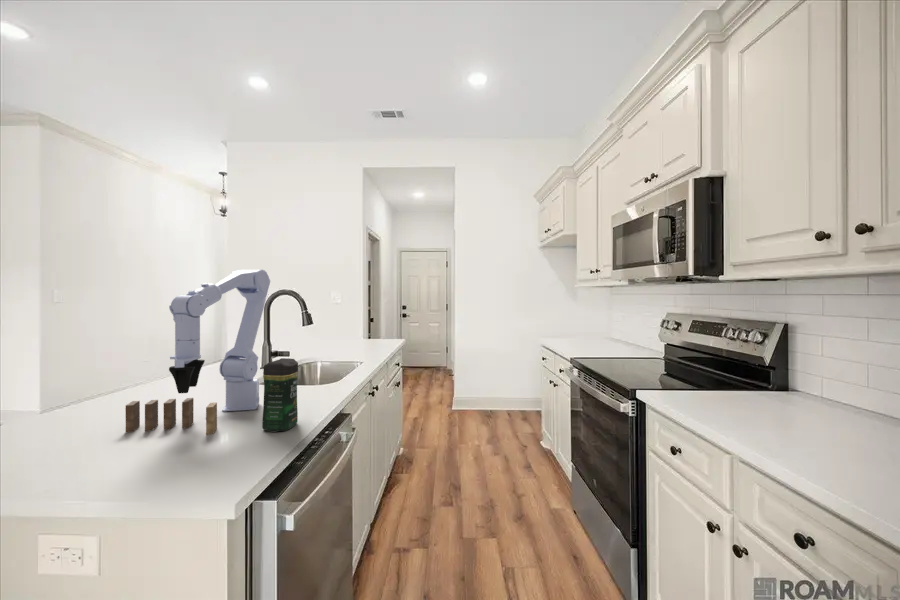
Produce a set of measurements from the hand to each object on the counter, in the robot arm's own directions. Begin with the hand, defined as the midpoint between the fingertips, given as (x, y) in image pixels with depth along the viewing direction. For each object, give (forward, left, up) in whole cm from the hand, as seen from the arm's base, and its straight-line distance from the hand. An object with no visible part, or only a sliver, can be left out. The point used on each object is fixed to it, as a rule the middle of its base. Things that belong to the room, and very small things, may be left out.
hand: (187, 389), depth 115 cm
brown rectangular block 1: (+9, -1, -10) cm, 13 cm away
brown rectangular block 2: (+4, -1, -10) cm, 11 cm away
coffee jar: (-24, +7, -10) cm, 27 cm away
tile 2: (0, -1, -10) cm, 10 cm away
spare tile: (-7, +6, -10) cm, 14 cm away
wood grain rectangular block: (+13, -1, -10) cm, 16 cm away
